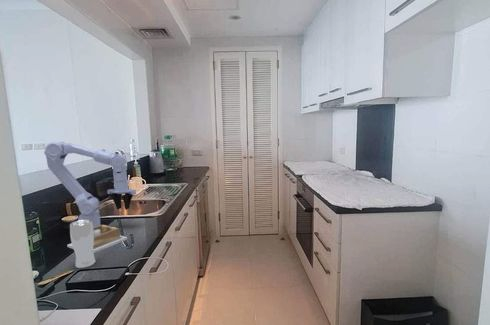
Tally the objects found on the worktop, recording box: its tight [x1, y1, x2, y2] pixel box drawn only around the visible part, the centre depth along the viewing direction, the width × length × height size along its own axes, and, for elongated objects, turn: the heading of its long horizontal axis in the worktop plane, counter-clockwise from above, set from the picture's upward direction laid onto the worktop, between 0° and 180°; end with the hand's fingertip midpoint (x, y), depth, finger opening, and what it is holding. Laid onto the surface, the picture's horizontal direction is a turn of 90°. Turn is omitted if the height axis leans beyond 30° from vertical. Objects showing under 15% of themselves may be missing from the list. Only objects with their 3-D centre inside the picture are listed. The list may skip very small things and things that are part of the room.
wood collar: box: [93, 224, 121, 248], centre depth 112 cm, size 12×12×4 cm
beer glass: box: [69, 219, 96, 269], centre depth 93 cm, size 7×7×15 cm
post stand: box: [66, 229, 128, 254], centre depth 112 cm, size 16×16×6 cm
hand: (123, 208), depth 129 cm, fingers open, 4 cm apart
